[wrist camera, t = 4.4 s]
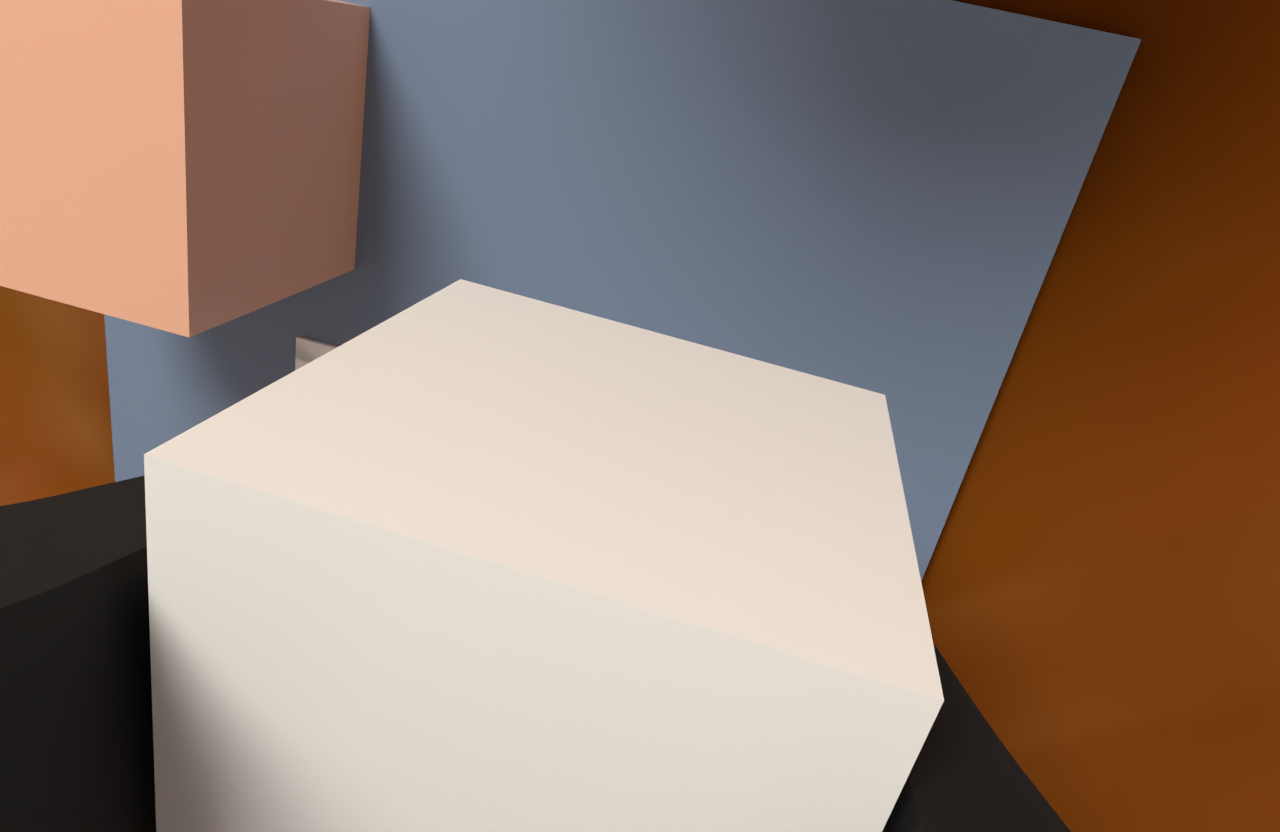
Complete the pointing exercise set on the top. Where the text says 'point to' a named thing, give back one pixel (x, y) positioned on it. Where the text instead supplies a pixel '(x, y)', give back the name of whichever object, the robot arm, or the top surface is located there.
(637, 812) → the offwhite block
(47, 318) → the top surface
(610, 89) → the mat
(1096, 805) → the top surface
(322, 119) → the terracotta block
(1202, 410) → the top surface
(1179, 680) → the top surface
